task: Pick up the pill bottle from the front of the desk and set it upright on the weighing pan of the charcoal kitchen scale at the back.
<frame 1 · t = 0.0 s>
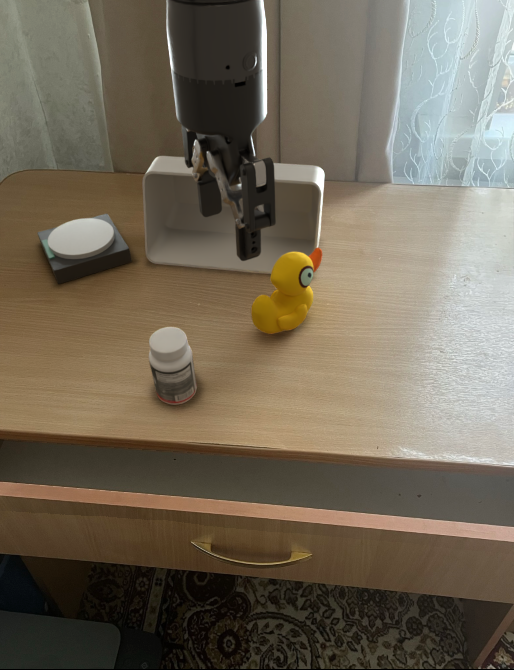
hand: (229, 234, 54), 18 cm above the table, tool pointing down, fingers open, 8 cm apart
scale: (85, 253, 84), on the table
tank: (238, 240, 86), on the table
pill bottle: (177, 391, 64), on the table
duckling: (286, 322, 72), on the table
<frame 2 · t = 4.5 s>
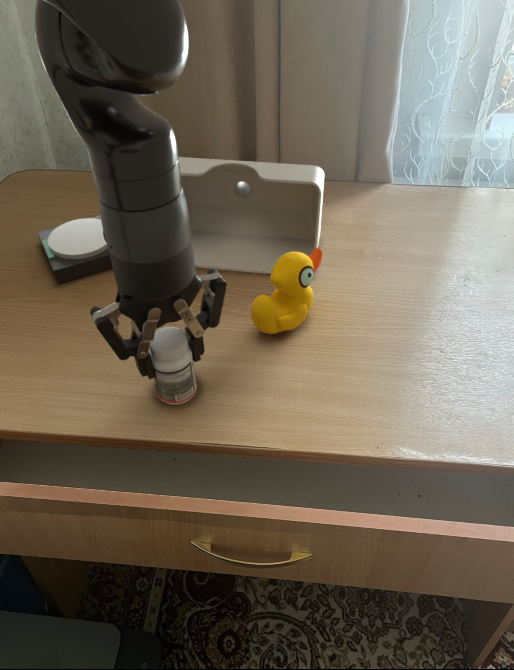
hand: (172, 364, 61), 4 cm above the table, tool pointing down, fingers closed on pill bottle, 4 cm apart
pill bottle: (177, 391, 64), on the table, touching gripper
everything else where it was.
when the fingers open (8 cm above the table, at t = 11.8 s): pill bottle stays where it is, resting on scale.
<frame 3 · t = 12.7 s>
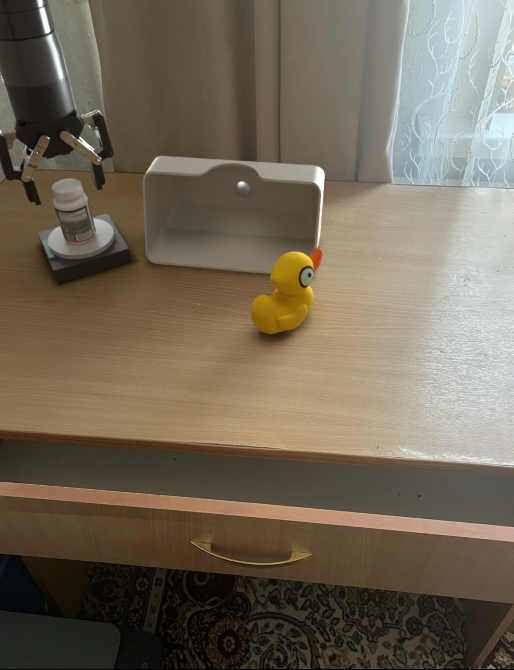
hand: (68, 194, 77), 10 cm above the table, tool pointing down, fingers open, 8 cm apart
pill bottle: (80, 237, 82), point 3 cm above the table, touching scale
everything else where it was.
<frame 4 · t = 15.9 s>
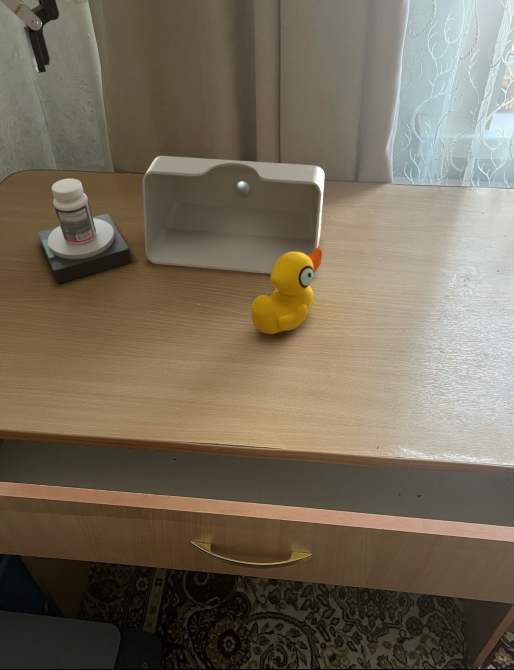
nothing on the table moved.
at the end: pill bottle inside the target area on the scale (0.1 cm from its centre), point 3.0 cm above the scale's base; pill bottle tilted 0° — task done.
